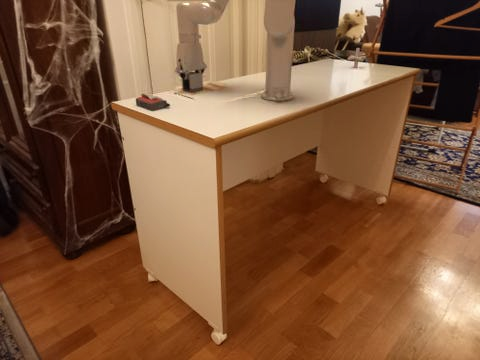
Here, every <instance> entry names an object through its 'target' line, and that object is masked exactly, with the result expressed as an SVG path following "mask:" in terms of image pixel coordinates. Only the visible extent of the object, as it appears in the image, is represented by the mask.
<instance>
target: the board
mask: <svg viewBox="0 0 480 360" xmlns="http://www.w3.org/2000/svg"><path fill="white" fill-rule="evenodd" d="M231 87H234V85H232V84H229V83H228V84H227V83H224V82H218V81H212V82H206V83H203V91H199V92H194V93H192V92H189V91H185V90H182V87H181V88H176V89H174V92H173V95H177V94H178V96H180V95H181V97H184V98H186V99H190V100H194V99H195V98H193V97H190V96H193V95H198V94H203V93H208V92H212V91H217V90H222V89H227V88H231ZM177 92H180V93H183V94H187V95H190V96H187V95H183V94H180V93H177Z"/></svg>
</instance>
